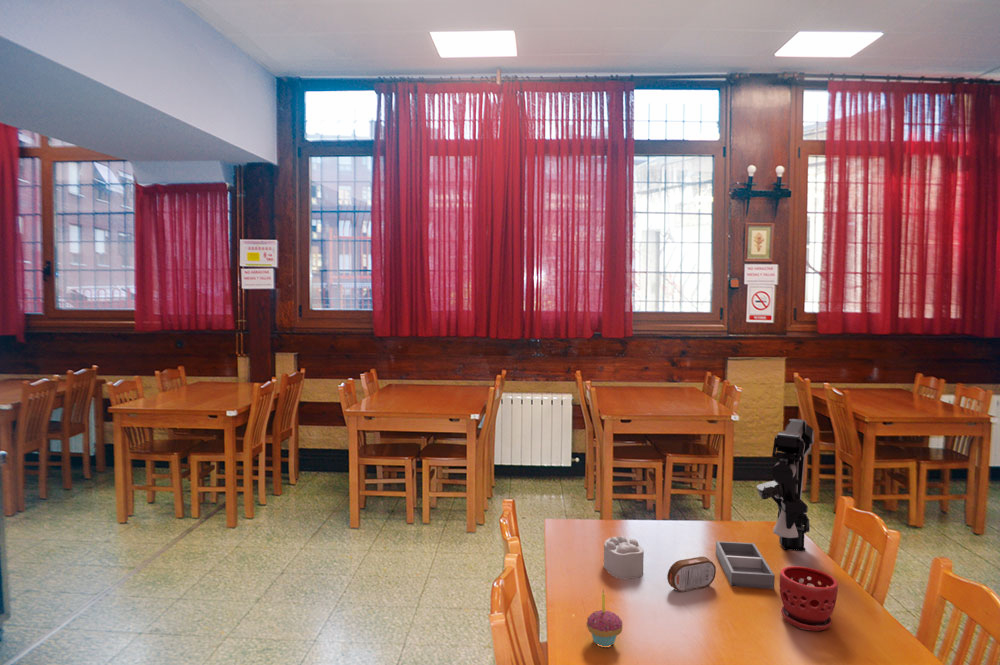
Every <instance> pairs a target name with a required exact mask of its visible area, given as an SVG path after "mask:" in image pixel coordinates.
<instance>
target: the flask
mask: <svg viewBox="0 0 1000 665" xmlns="http://www.w3.org/2000/svg"><path fill="white" fill-rule="evenodd" d="M781 504H782V501H781ZM772 531H773V532H772V533H773V534H774V535H776V536H778V537H786V538H795V537H798V532H797V529H796V526H795V523H794V524H793V526H792V527H791V529H787V527H786V521H785V513H784V511H783V510H782V509H781V513H780V516H779V518H778V517H777V520H776V523H775V525H774V526H773V530H772Z"/></svg>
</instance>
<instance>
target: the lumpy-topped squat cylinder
mask: <svg viewBox="0 0 1000 665" xmlns="http://www.w3.org/2000/svg"><path fill="white" fill-rule="evenodd" d="M603 544H604V545H603V569H604V568H605V569H606V570H607V571H608V572H609V573H610V574H611V575H612V576H611V575H610V574H609V573H608V572H607V571H606V570H605V569H604V570H605V571H606V572H607V573H608V574H609V575H610V576H611V577H613V576H614V577H613V578H615V577H617V578H616V579H618V578H621V579H620V580H625V578H627V579H631V578H640V577H643V575H644V558H645V557H644V553H645V551H644V548H643V547H642V546H641V545H640V544H639V542H638V540H636V539H634V538H633V539H631V538H630V539H628V538H626V537H625V536H623V535H621V536H611V537H609V538H607V539H605V541H604V543H603Z"/></svg>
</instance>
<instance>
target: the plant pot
mask: <svg viewBox="0 0 1000 665" xmlns="http://www.w3.org/2000/svg"><path fill="white" fill-rule="evenodd" d="M808 578H810V579H808ZM800 580H803V582H800ZM819 583H820V584H819ZM809 584H810V585H813V586H810V585H809ZM838 588H839V583H838V581H837V579H836V578H834V577H833V576H832V575H830V574H829V573H826V572H824V571H821V570H819V569H816V568H812V567H806V566H797V565H796V566H792V565H791V566H786V567H783V568H782V569H781V570H780V574H779V594H780V599H781V602H782V606H781V608H780V613H781V616H782V617H783V619H784V620H786V622H787V623H789V624H791V625H792V626H794V627H797V629H801V630H805V631H812V632H818V631H824V630H827V629H829V628H830V627H831V625H832V623H833V621H832V617H831V615H833V612H834V611H835V610H834V609H835V607H836V603H837V599H838V598H837V596H838Z"/></svg>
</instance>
